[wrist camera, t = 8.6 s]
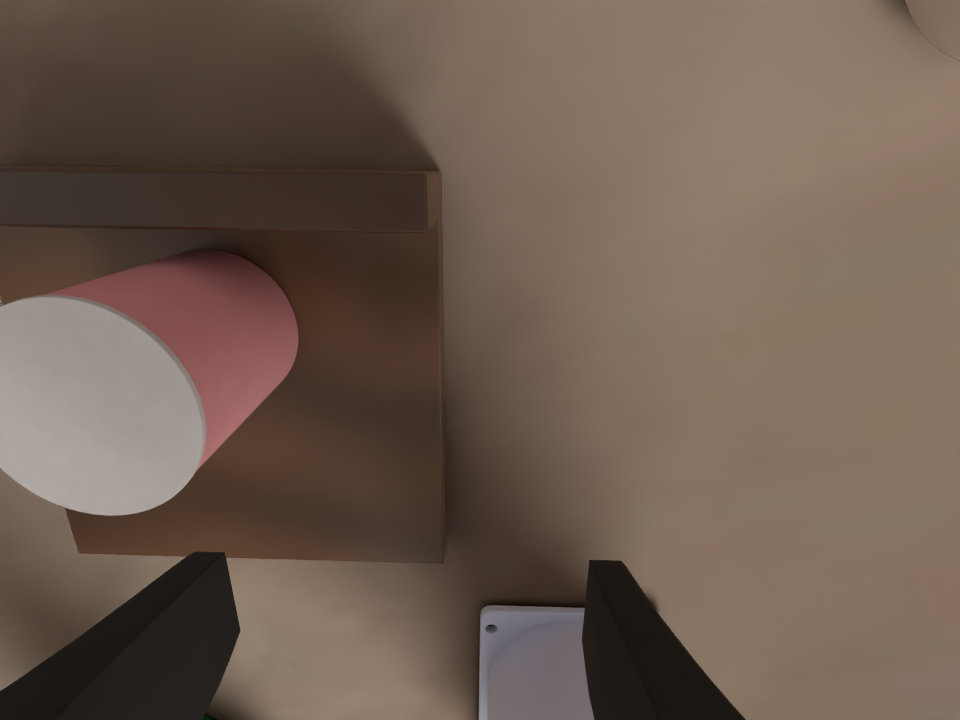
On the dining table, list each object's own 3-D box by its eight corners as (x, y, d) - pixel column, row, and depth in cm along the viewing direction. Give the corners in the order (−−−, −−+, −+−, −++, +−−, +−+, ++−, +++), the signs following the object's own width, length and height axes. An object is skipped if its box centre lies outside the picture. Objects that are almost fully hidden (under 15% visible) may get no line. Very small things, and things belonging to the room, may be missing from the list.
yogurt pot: (308, 402, 19) (219, 518, 13) (157, 399, 20) (-2, 513, 13) (291, 248, 18) (178, 299, 11) (124, 245, 18) (-80, 293, 11)
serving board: (446, 544, 23) (436, 624, 19) (98, 535, 23) (17, 611, 19) (441, 170, 18) (426, 173, 14) (-8, 164, 18) (-148, 166, 14)
